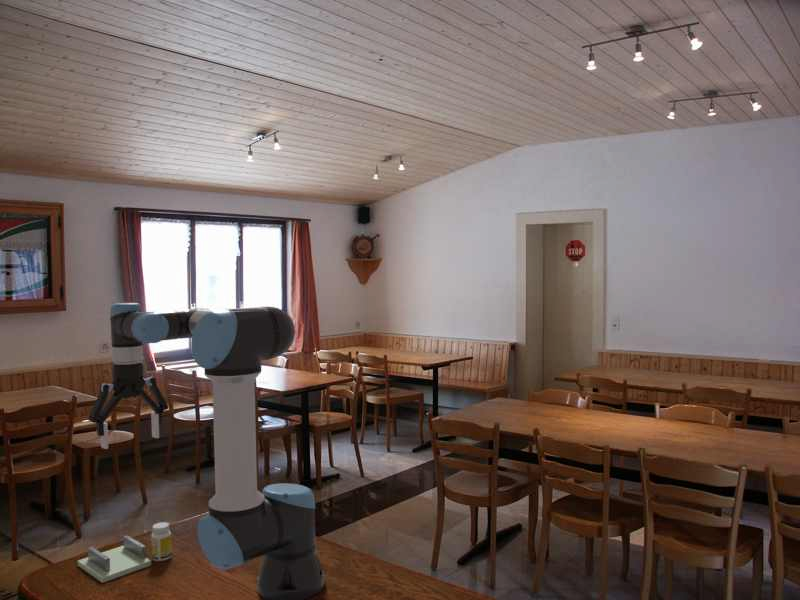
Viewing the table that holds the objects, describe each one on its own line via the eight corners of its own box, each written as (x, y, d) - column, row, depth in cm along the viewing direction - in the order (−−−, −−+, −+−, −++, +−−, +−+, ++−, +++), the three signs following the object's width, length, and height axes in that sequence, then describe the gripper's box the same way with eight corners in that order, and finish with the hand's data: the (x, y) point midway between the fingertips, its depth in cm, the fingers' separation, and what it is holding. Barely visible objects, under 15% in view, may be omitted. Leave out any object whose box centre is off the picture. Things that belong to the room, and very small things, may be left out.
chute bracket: (145, 557, 166) (145, 545, 166) (105, 571, 158) (105, 559, 158) (127, 546, 172) (127, 535, 172) (88, 559, 165) (87, 547, 165)
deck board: (150, 565, 164) (150, 560, 164) (102, 582, 155) (102, 577, 155) (125, 549, 173) (124, 545, 173) (77, 565, 165) (77, 560, 165)
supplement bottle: (174, 553, 171) (173, 521, 170) (168, 561, 166) (167, 528, 166) (155, 553, 171) (154, 521, 170) (149, 562, 166) (148, 529, 165)
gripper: (166, 355, 184) (168, 430, 186) (72, 366, 166) (75, 449, 168) (179, 357, 179) (182, 435, 180) (84, 369, 161) (87, 455, 162)
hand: (130, 442), depth 174 cm, fingers open, 13 cm apart
